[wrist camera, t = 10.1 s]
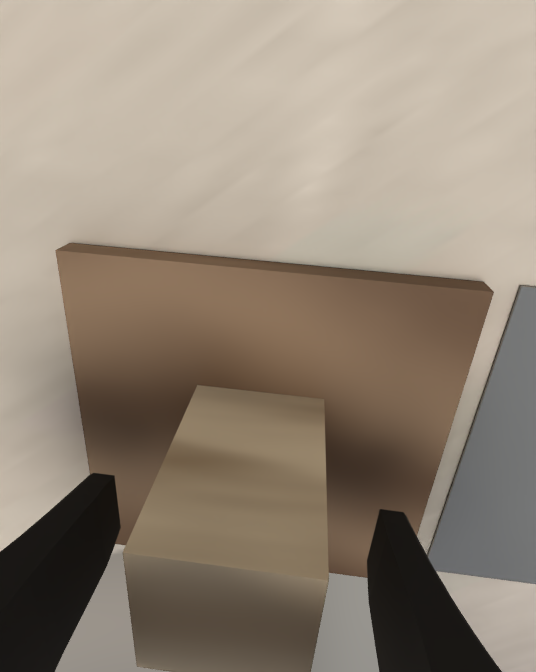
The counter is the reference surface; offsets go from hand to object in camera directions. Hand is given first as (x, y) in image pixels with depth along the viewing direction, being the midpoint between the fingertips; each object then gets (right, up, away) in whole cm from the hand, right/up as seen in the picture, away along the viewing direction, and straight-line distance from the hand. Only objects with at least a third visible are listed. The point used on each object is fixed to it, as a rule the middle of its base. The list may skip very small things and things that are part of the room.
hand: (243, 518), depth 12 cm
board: (0, +2, +3) cm, 4 cm away
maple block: (0, +1, +3) cm, 3 cm away
